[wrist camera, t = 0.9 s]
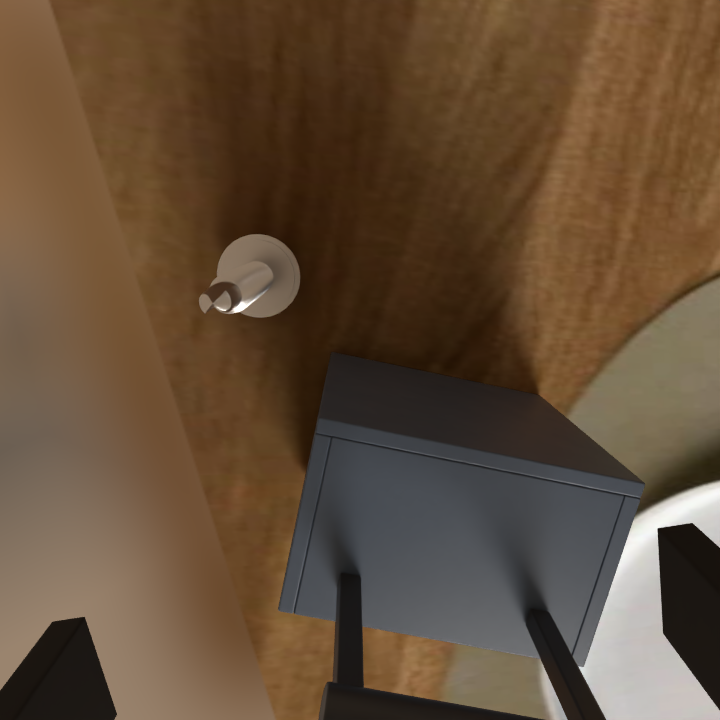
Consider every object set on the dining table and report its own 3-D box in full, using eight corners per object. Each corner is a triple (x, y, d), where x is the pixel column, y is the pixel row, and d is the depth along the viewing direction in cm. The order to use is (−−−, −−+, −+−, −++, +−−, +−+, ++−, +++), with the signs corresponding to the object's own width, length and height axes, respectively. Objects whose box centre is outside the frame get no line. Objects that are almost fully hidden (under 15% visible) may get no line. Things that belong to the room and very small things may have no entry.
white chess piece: (319, 271, 36) (267, 327, 36) (260, 216, 35) (208, 274, 36) (298, 301, 23) (219, 385, 24) (204, 215, 22) (126, 305, 23)
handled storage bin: (300, 504, 15) (243, 776, 17) (784, 598, 16) (682, 849, 18) (331, 351, 37) (304, 480, 38) (540, 395, 37) (504, 519, 39)
